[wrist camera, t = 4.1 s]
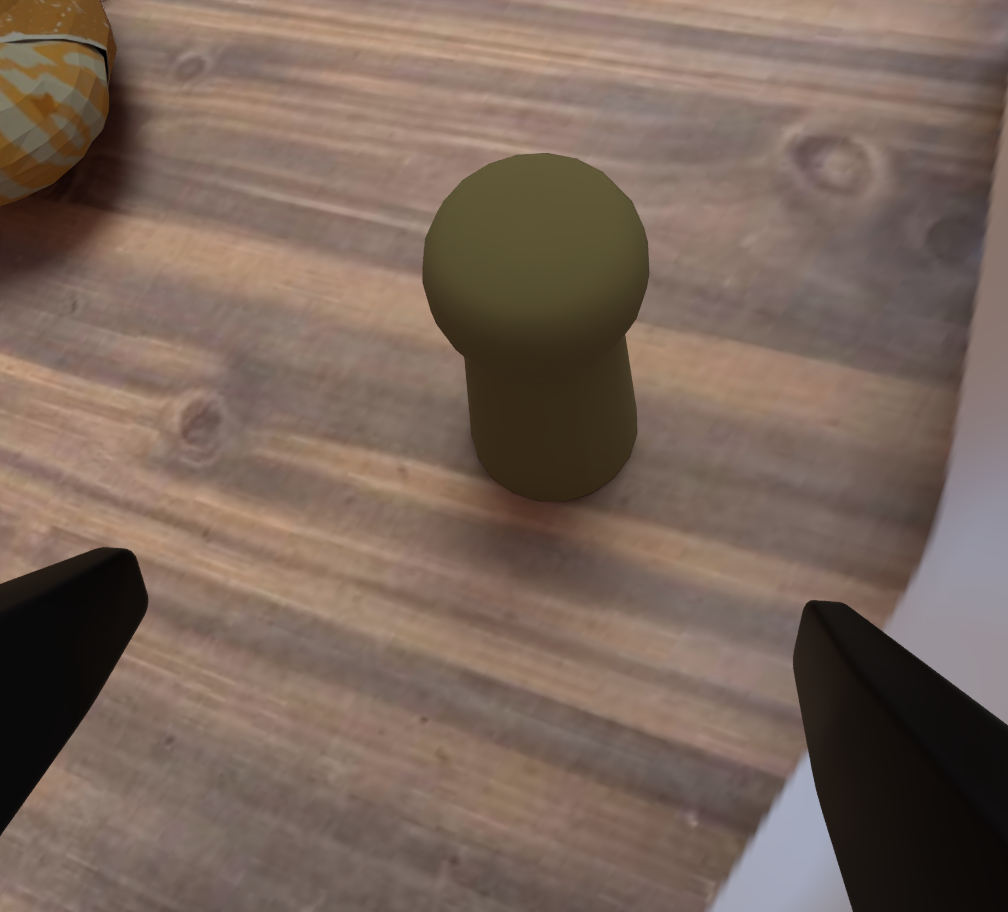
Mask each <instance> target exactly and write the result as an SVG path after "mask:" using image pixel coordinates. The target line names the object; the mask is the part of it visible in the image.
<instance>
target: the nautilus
mask: <svg viewBox="0 0 1008 912" xmlns="http://www.w3.org/2000/svg"><path fill="white" fill-rule="evenodd" d="M116 50H117V49H116V45H115V41H114V37H113V34H112V30H111V26H110V23H109V20H108V18H107V16H106V13H105V11H104V9H103V6H102V4H101V2H100V0H0V206H3V205H5V204H8V203H11V202H14V201H17V200H20V199H22V198H24V197H26V196H29V195H31V194H33V193H35V192H37V191H39V190H41V189H43V188H45V187H47V186H49V185H52V184H53V183H54V182H55V181H57V180H58V179H59V178H60V177H61V176H62V175H64V174H65V173H66V172H67V171H68V170H69V169H70V168H72V167H73V166H74V165H75V164H76V163H77V162H78V161H80V160H81V159H82V158H83V157H84V156H85V154H86V152H87V150H88V148H89V146H90V144H91V142H92V141H93V140H94V139H95V138H96V137H97V136H98V135H99V134H100V132H101V131H102V130H103V127H104V124H105V121H106V118H107V115H108V112H109V92H108V85H109V81H110V77H111V72H112V68H113V63H114V59H115V54H116Z"/></svg>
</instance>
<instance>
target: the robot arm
mask: <svg viewBox="0 0 1008 912" xmlns="http://www.w3.org/2000/svg"><path fill="white" fill-rule="evenodd" d="M147 608H148V594H147V591H146V587H145V584H144V581H143V577H142V574H141V571H140V567H139V564H138V561H137V558H136V556H135V555H134V553H133V552H132V551H130V550H128V549H123V548H110V547H102V548H97V549H94V550H91V551H89V552H86V553H83V554H80V555H78V556H75V557H72V558H70V559H67V560H64V561H61V562H59V563H56V564H53V565H51V566H48V567H45V568H42V569H40V570H37V571H34V572H32V573H29V574H26V575H23V576H21V577H18V578H15V579H13V580H10V581H7V582H4V583H2V584H0V836H1V834H2V833H3V831H4V830H5V828H6V827H7V826H8V824H9V823H10V821H11V820H12V819H13V817H14V816H15V814H16V813H17V812H18V810H19V809H20V807H21V806H22V805H23V803H24V802H25V800H26V799H27V797H28V796H29V795H30V793H31V792H32V790H33V789H34V788H35V786H36V785H37V783H38V782H39V781H40V779H41V778H42V776H43V775H44V774H45V772H46V771H47V769H48V768H49V766H50V765H51V764H52V762H53V761H54V759H55V758H56V757H57V755H58V754H59V752H60V751H61V750H62V748H63V747H64V745H65V744H66V743H67V741H68V740H69V738H70V737H71V735H72V734H73V733H74V731H75V730H76V728H77V727H78V726H79V724H80V723H81V721H82V720H83V718H84V717H85V715H86V714H87V712H88V711H89V709H90V708H91V706H92V705H93V703H94V701H95V700H96V698H97V696H98V695H99V693H100V691H101V690H102V688H103V686H104V685H105V683H106V681H107V679H108V678H109V676H110V674H111V672H112V671H113V669H114V667H115V666H116V664H117V662H118V660H119V659H120V657H121V655H122V654H123V652H124V650H125V648H126V647H127V645H128V643H129V641H130V640H131V638H132V636H133V635H134V633H135V631H136V629H137V628H138V626H139V624H140V623H141V621H142V619H143V617H144V616H145V613H146V611H147ZM793 670H794V676H795V682H796V687H797V692H798V698H799V703H800V708H801V714H802V719H803V725H804V730H805V735H806V741H807V746H808V751H809V757H810V762H811V768H812V773H813V777H814V782H815V787H816V791H817V795H818V798H819V802H820V806H821V809H822V813H823V816H824V819H825V822H826V826H827V829H828V832H829V836H830V839H831V842H832V845H833V849H834V851H835V854H836V858H837V861H838V865H839V868H840V871H841V874H842V877H843V881H844V884H845V887H846V891H847V894H848V897H849V900H850V904H851V906H852V910H853V912H1008V725H1007V724H1005V723H1004V722H1003V721H1001V720H1000V719H999V718H997V717H996V716H995V715H993V714H992V713H991V712H989V711H988V710H987V709H985V708H984V707H983V706H981V705H980V704H979V703H977V702H976V701H975V700H973V699H972V698H971V697H969V696H968V695H967V694H965V693H964V692H963V691H961V690H960V689H959V688H957V687H956V686H955V685H953V684H952V683H951V682H949V681H948V680H947V679H945V678H944V677H943V676H941V675H940V674H939V673H937V672H936V671H935V670H933V669H932V668H931V667H929V666H928V665H927V664H925V663H924V662H923V661H921V660H920V659H919V658H917V657H916V656H915V655H913V654H912V653H911V652H909V651H908V650H907V649H905V648H904V647H902V646H901V645H900V644H898V643H897V642H896V641H894V640H893V639H892V638H890V637H889V636H888V635H886V634H885V633H884V632H882V631H881V630H880V629H878V628H877V627H876V626H874V625H873V624H872V623H870V622H869V621H868V620H866V619H865V618H864V617H862V616H861V615H860V614H858V613H857V612H856V611H854V610H853V609H852V608H850V607H849V606H848V605H846V604H844V603H841V602H832V601H818V600H811V601H809V602H808V603H806V605H805V607H804V609H803V612H802V617H801V621H800V626H799V630H798V635H797V639H796V644H795V648H794V654H793Z"/></svg>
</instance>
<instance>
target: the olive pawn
mask: <svg viewBox="0 0 1008 912" xmlns="http://www.w3.org/2000/svg"><path fill="white" fill-rule="evenodd" d="M648 278H649V256H648V241H647V237H646V233H645V230H644V227H643V224H642V222H641V220H640V218H639V216H638V213H637V211H636V209H635V207H634V205H633V202H632V201H631V200H630V199H629V198H628V197H627V196H626V195H625V194H624V193H623V192H622V191H621V190H620V189H619V187H618V186H617V185H616V184H615V183H614V182H613V181H612V180H611V179H610V178H608V177H607V176H606V175H605V174H604V173H603V172H602V171H600V170H598V169H596V168H594V167H592V166H590V165H588V164H586V163H584V162H582V161H580V160H578V159H576V158H571V157H566V156H561V155H555V154H550V153H539V154H523V155H515V156H512V157H509V158H506V159H503V160H499V161H496V162H493V163H490V164H488V165H486V166H484V167H483V168H481V169H480V170H478V171H476V172H475V173H473V174H472V175H470V176H468V177H467V178H465V179H464V180H462V181H461V183H460V184H459V185H458V186H457V187H456V188H455V189H454V190H453V191H452V192H451V194H450V195H449V196H448V197H447V198H446V199H445V200H444V201H443V203H442V205H441V206H440V208H439V210H438V212H437V214H436V216H435V218H434V220H433V222H432V225H431V227H430V229H429V231H428V233H427V235H426V238H425V246H424V257H423V286H424V289H425V293H426V296H427V300H428V303H429V307H430V310H431V313H432V315H433V317H434V320H435V322H436V324H437V326H438V327H439V328H440V330H441V331H442V332H443V334H444V335H445V336H446V338H447V339H448V340H449V341H450V343H451V344H452V345H453V347H454V348H455V349H456V350H457V351H458V352H459V353H460V354H462V355H463V356H464V360H465V370H466V381H467V392H468V403H469V414H470V424H471V435H472V438H473V442H474V445H475V449H476V452H477V455H478V458H479V460H480V461H481V462H482V464H483V465H484V467H485V468H486V469H487V471H488V472H489V474H490V475H491V476H492V478H493V479H495V480H496V481H497V482H499V483H500V484H502V485H503V486H504V487H506V488H507V489H509V490H510V491H511V492H513V493H515V494H518V495H521V496H524V497H528V498H531V499H534V500H537V501H568V500H571V499H574V498H578V497H581V496H584V495H587V494H590V493H593V492H594V491H596V490H597V489H599V488H600V487H601V486H603V485H604V484H606V483H607V482H609V481H610V480H611V479H613V478H614V477H615V476H616V474H617V473H618V472H619V470H620V469H621V468H622V466H623V465H624V464H625V462H626V461H627V460H628V458H629V457H630V454H631V451H632V448H633V445H634V442H635V438H636V435H637V412H636V403H635V396H634V389H633V383H632V376H631V370H630V363H629V356H628V350H627V343H626V337H625V334H626V332H627V331H628V330H629V329H630V327H631V326H632V324H633V323H634V321H635V320H636V318H637V316H638V313H639V310H640V307H641V304H642V301H643V298H644V295H645V292H646V289H647V284H648Z"/></svg>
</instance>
